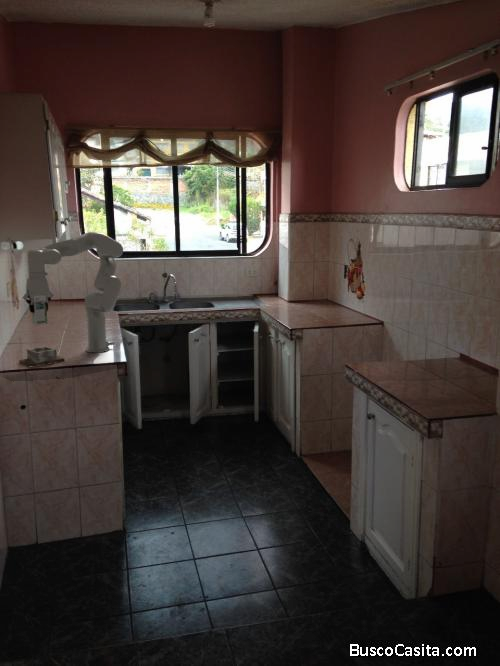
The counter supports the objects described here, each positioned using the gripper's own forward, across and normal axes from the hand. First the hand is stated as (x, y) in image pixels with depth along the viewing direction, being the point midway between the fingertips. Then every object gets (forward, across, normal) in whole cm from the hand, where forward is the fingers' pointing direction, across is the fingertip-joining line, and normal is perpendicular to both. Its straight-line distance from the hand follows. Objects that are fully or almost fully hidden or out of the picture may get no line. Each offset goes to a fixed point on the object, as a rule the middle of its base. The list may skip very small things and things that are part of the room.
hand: (39, 311), depth 295 cm
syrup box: (+6, 0, 0) cm, 6 cm away
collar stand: (+26, 0, 0) cm, 26 cm away
